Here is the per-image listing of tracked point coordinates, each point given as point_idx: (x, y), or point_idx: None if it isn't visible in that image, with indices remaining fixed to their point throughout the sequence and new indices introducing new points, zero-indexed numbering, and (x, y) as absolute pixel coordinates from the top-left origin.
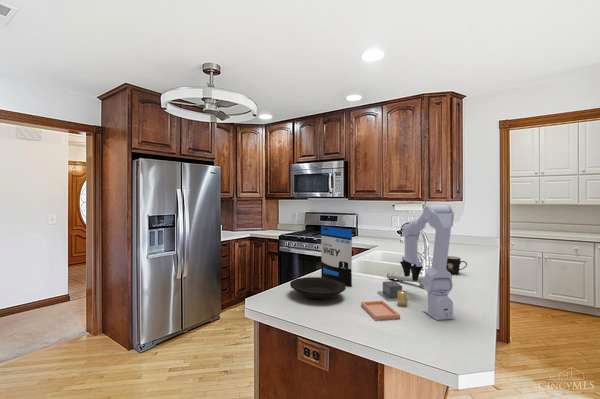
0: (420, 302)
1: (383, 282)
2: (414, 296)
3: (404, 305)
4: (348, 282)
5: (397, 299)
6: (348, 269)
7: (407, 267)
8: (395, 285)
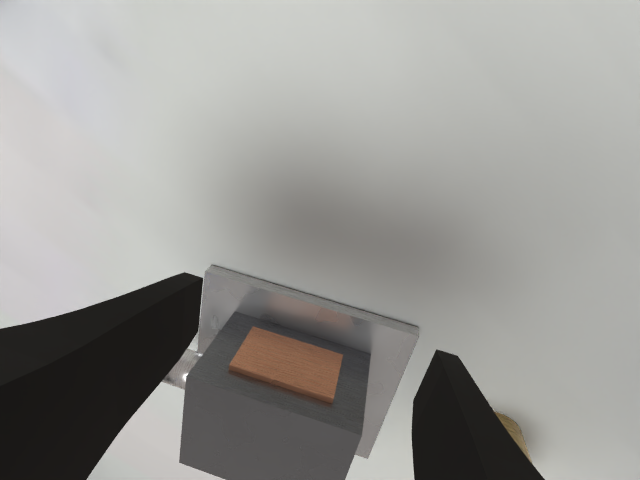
0: (520, 288)
1: (197, 466)
2: (368, 215)
3: None
4: None
5: (389, 403)
6: None
7: (81, 412)
8: (322, 467)
